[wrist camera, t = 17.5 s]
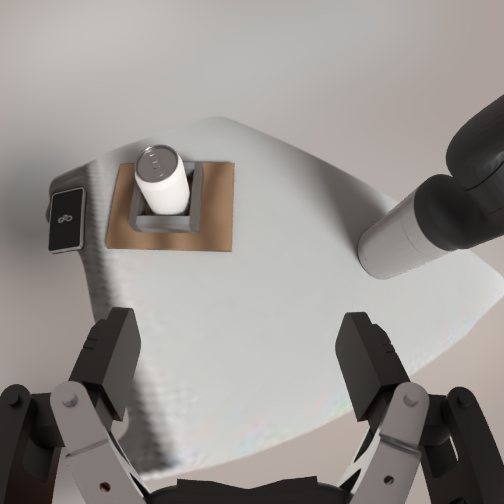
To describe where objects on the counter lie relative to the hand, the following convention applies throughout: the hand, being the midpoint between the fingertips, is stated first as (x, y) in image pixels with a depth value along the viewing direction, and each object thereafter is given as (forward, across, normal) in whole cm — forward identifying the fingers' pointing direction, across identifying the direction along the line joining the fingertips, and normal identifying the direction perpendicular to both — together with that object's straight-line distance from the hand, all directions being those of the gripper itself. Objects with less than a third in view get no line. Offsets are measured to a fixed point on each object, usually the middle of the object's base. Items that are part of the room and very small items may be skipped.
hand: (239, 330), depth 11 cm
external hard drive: (+35, +29, +12) cm, 47 cm away
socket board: (+37, +10, +9) cm, 39 cm away
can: (+36, +10, +9) cm, 38 cm away
